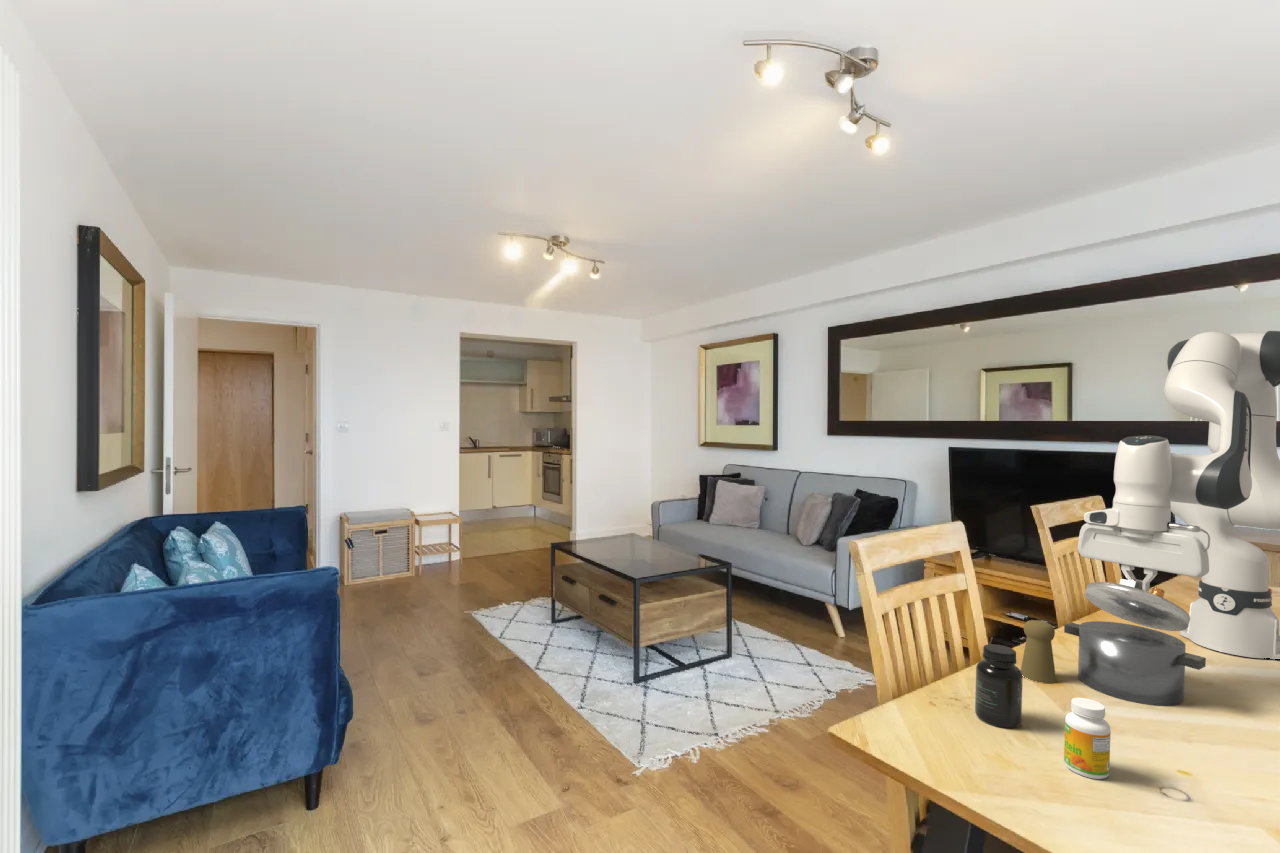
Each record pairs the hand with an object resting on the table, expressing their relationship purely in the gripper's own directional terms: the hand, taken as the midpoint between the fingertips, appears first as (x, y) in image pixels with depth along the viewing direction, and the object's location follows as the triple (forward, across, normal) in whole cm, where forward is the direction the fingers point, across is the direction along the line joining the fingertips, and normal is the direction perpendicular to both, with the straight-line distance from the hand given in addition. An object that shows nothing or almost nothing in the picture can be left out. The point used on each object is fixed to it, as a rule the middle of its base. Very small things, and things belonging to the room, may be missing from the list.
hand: (1138, 589), depth 121 cm
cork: (+19, +11, +14) cm, 26 cm away
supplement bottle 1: (+19, +5, +39) cm, 44 cm away
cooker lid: (+4, 0, +2) cm, 4 cm away
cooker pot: (+18, 0, +3) cm, 19 cm away
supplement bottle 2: (+19, -10, +43) cm, 48 cm away
